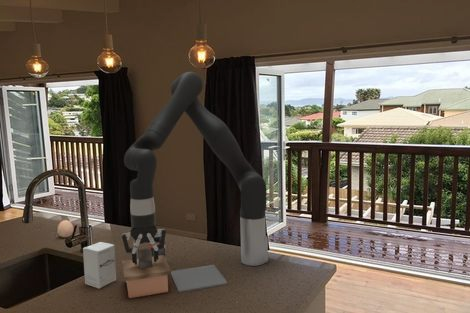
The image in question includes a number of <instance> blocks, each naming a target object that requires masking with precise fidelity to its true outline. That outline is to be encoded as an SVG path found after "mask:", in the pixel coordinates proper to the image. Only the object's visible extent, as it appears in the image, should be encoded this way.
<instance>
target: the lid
mask: <svg viewBox="0 0 470 313" xmlns="http://www.w3.org/2000/svg"><path fill="white" fill-rule="evenodd" d="M137 257H138V258H137V265H135V263H133V262H132V258H131V259H125V260H122V261H121V265H122V273H123V274H122V275H123V281H124V282H126V281H131V280H137V279H144V278H150V277H157V276H163V275H167V276H168V275H171V271H172V270H171V267H170V265H169V263H168V261H167V257H166V258H165V256H164V255H160V256H158V257H159V258H158V260H157V262H154V256H153V257H152V251H151V248H149V247H145V248H139V249H138V248H137Z"/></svg>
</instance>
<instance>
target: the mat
mask: <svg viewBox="0 0 470 313" xmlns="http://www.w3.org/2000/svg"><path fill="white" fill-rule="evenodd" d="M170 275H171V278H172V280H173V283H174V285H175V287H176V289H177V292H178V293H180V294H181V293H187V292H191V291H192V292H193V291H198V290H204V289H209V288H214V287H215V288H216V287H220V286H227V285H228V281H227V280H226V279H225V277H224V276H223V274H221V271H220V270H219V269H218V268H217V267H216V266H215V264H209V265H202V266H196V267H195V266H194V267H189V268H183V269H176V270H171V274H170Z"/></svg>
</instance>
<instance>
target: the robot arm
mask: <svg viewBox="0 0 470 313" xmlns="http://www.w3.org/2000/svg"><path fill="white" fill-rule="evenodd" d="M203 89H204V82H203V79H202V77H201V76H200V75H199V74H198V73H196V72H194V71H186V72H184V73H182V74H180V75H179V76H177V78H176V79H174V81H172V83H171V84H170V94H171V97H170V98H169V100H168V101H167V103H166V104H165V105H164V107H163V108H162V109H161V110H160V111H159V112H158V114H156V116H155V117H154V119H153V120H152V121H151V122H150V123H149V125H148V127H147V128H146V130H145V131H144V133H143V134H142V135H141V136H140V137H139V138H138V139H136V141H134V142H133V144H131V145H130V147H129V148H128V149H127V150H126V152H125V154H124V158H123V162H124V166H125V167H126V168H127V169H128V170H130V171H136V172H137V176H136V178H133V179H132V180H131V181H130V183H129V185H130V186H129V194H130V204H129V206H130V210H129V212H130V223H131V224H130V226H131V229H130V231H129V232H123V233H121V238H122V241H123V246H124V251H125V253H127V254H129V253H130V254H131V259H132V262H133V263H135V265H137V259H138V258H137V257H138V253H137V251H138V248H139V246H140V244H144V243H147V244H149V243H150V242H151V244H152V246H153V248H154V249H153V256H154V262H157V260H158V258H159V257H158V250H159V249H160V248H163V247H164V242H165V243H166V241H165V240H166V234H167V231H166V230H165V228H164V227H162V228H157V225H156V224H157V223H156V204H155V200H154V199H155V197H154V181H155V176H156V172H157V165H158V160H157V156H156V154H155V152H153V151H157V150H159V149H161V148H162V147H163V146H164V144H165V143H166V141H167V140H168V138H169V136H170V135H171V133H172V131H173V129H175V126H176V125H177V123H178V122H179V120H180V119H181V117H182V116H183V114H184V113H185V114H186V115H187V116H188V117H189V118H190V120H191V121H192V123H193V124H194V126H195V127H196V129H197V130H198V131H199V133H200V134H201V136H202V137H203V139H204V140H205V142H206V144H208V146H209V147H210V149H211V150H212V152H213V153H214V154H215V155H216V157H217V158H218V159H219V160H220V162H222V163H223V164H224V165H225V166H226V167H227V169H228V171H229V172H230V173H231V175H232V176H233V178H234V180H235V182H236V184H237V186H238V189H239V190H240V210H239V213H240V214H239V215H240V217H239V218H240V221H239V222H240V224H239V225H240V262H241V263H242V264H243V265H245V266H261V265H264V264H266V263H268V262H269V252H268V248H269V246H268V245H269V244H268V241H269V238H268V236H267V235H266V234H267V233H266V211H267V203H268V202H267V199H268V198H267V196H268V195H267V193H268V192H267V183H266V181H265V180H264V178H263V177H262V176H261V175H260V174H259V173H258V172H256V170H255V169H254V167H253V166H252V165H251V164H250V163H249V161H248V160H247V159H246V157H245V156H244V154H243V151H242V150H241V147H240V145H239V143H238V141H237V138H235V136H234V134H233V133H232V132H231V129H230V128H229V127H228V126H227V124H226V123H225V122H224V121H223V120H222V119H220V118H219V117H217V116H216V115H215V114H213V113H211V112H210V111H209V110H208V109H207V108H206V107H205V106H204V104H203V103H202V101H201V100H200V99H199V96H200V95H201V93H202V92H203ZM156 234H159V236H160V241H159V244H157V245H156V243H155V241H154V239H153V238H154V236H155V235H156ZM130 237H132V239H133V242H132V246H131V247H130V246H129V245H130V244H129V242H128V241H129V239H130Z"/></svg>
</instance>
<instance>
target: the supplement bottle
mask: <svg viewBox="0 0 470 313" xmlns="http://www.w3.org/2000/svg"><path fill="white" fill-rule="evenodd" d="M153 239H154V241H155V243H156V245H157V244H159V241H160V236H159V234H158V233H156V235H155V236H154V238H153ZM148 248H151V251H152V257H153V249H154V248H153V246H152V244H151V242H150V243H148ZM166 252H167V251H166V241H165V242H164V247H163V248H160V249H159V250H158V256H160V255H164V256H165V258H166V259H167V256H166V254H167V253H166Z"/></svg>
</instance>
